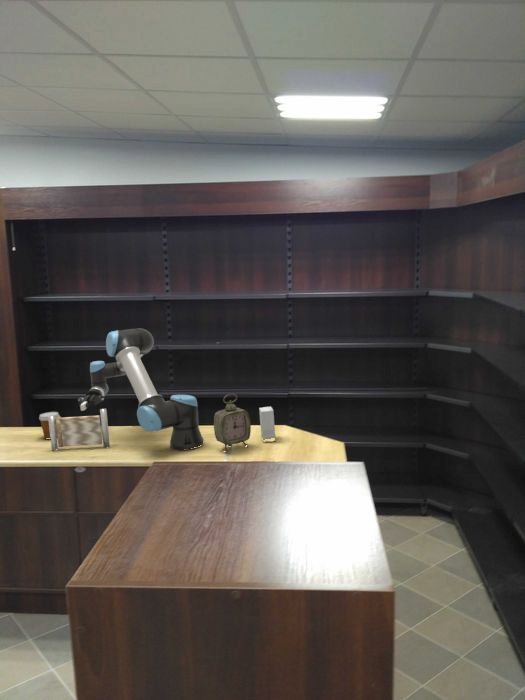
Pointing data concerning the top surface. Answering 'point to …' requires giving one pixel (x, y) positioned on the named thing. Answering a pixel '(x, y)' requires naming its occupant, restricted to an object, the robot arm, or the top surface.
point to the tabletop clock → (232, 424)
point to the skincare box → (267, 423)
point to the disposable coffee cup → (47, 422)
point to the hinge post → (104, 427)
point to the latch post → (53, 432)
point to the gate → (78, 431)
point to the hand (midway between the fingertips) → (82, 407)
